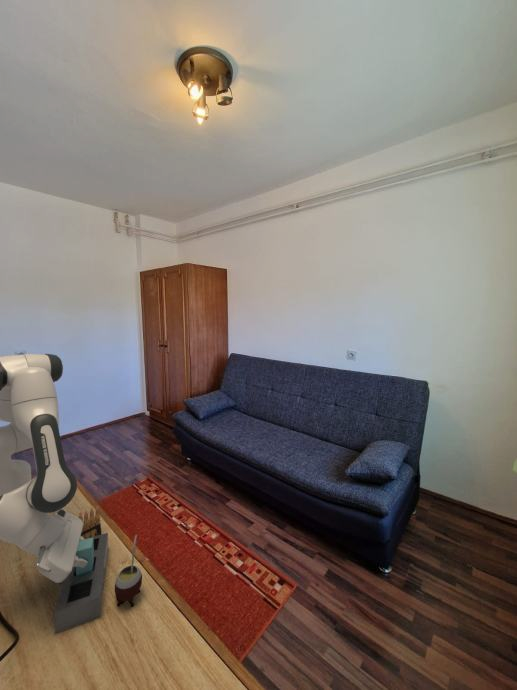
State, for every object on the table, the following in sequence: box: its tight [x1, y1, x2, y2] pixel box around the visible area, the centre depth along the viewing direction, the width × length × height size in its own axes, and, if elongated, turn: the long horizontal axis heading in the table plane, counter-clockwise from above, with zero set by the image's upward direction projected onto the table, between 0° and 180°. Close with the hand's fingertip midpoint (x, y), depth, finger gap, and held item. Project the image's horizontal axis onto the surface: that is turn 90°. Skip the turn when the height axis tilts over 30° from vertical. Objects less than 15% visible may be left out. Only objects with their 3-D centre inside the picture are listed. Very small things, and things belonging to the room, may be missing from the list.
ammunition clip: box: [78, 505, 102, 539], centre depth 97 cm, size 11×2×12 cm, turn 137°
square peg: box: [76, 538, 94, 576], centre depth 82 cm, size 4×4×10 cm
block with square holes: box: [53, 532, 109, 635], centre depth 82 cm, size 24×10×6 cm, turn 24°
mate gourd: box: [114, 534, 143, 609], centre depth 78 cm, size 8×8×15 cm
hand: (87, 556), depth 82 cm, fingers closed on square peg, 4 cm apart
